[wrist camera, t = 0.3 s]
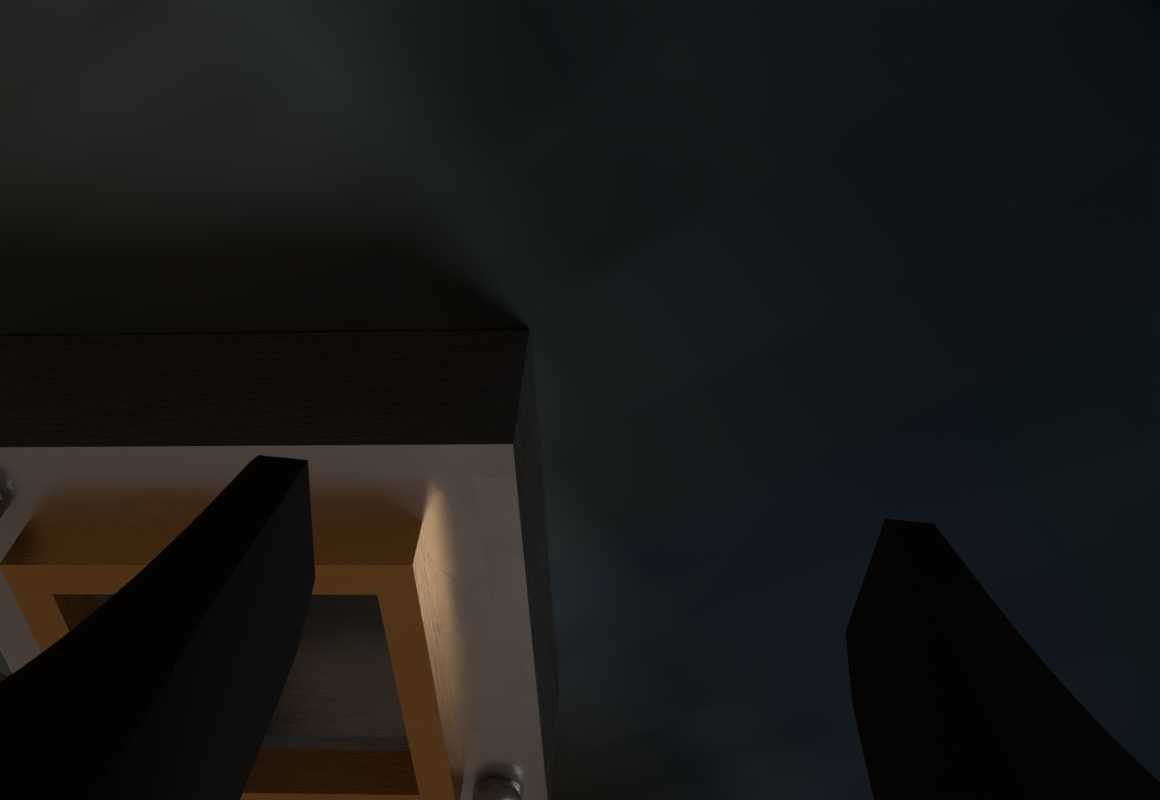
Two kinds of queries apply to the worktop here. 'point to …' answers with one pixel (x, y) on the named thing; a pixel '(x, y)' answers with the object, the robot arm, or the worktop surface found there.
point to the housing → (340, 534)
